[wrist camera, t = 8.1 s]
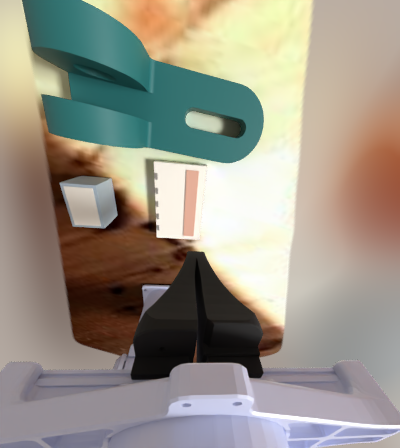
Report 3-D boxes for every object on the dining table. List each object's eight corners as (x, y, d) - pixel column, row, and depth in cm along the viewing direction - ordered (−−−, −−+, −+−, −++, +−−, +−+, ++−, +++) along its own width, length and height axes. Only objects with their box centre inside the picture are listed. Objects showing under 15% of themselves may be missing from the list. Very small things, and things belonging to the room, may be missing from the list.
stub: (117, 215, 22) (104, 228, 19) (90, 213, 22) (72, 226, 18) (111, 178, 20) (95, 185, 16) (81, 175, 19) (58, 183, 16)
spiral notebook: (199, 235, 24) (199, 240, 23) (158, 232, 24) (156, 238, 22) (206, 164, 19) (207, 166, 18) (155, 160, 19) (153, 161, 18)
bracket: (89, 132, 18) (21, 128, 11) (80, 49, 15) (-23, -34, 8) (244, 165, 20) (272, 179, 13) (264, 99, 17) (315, 70, 10)
